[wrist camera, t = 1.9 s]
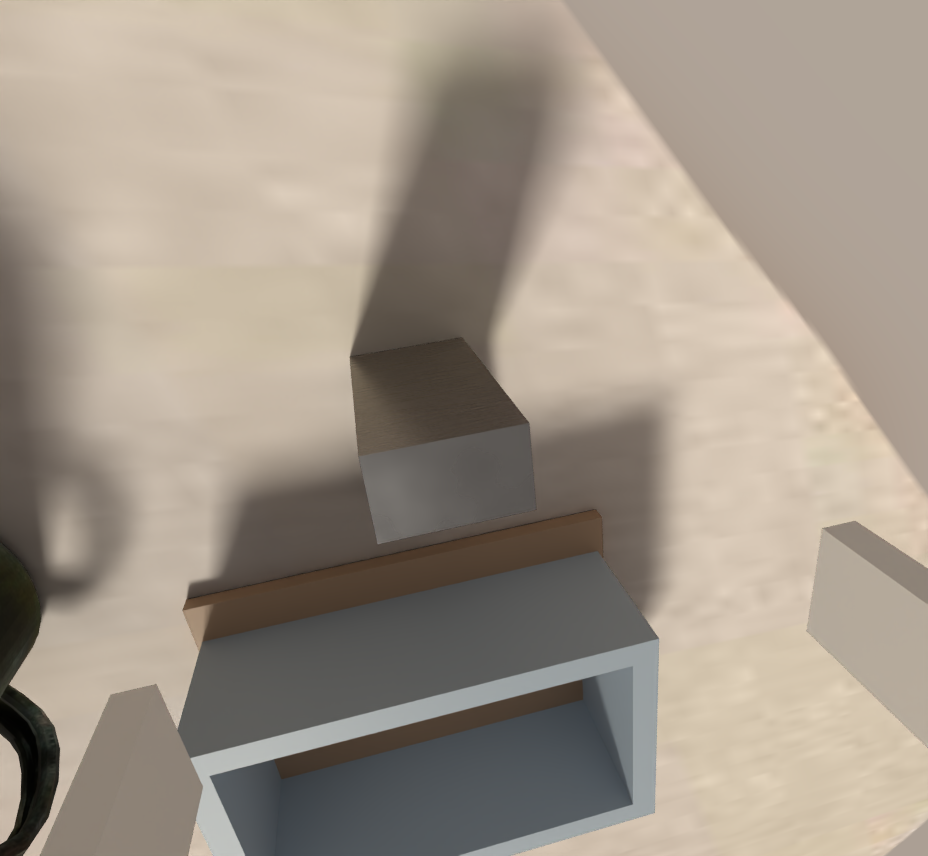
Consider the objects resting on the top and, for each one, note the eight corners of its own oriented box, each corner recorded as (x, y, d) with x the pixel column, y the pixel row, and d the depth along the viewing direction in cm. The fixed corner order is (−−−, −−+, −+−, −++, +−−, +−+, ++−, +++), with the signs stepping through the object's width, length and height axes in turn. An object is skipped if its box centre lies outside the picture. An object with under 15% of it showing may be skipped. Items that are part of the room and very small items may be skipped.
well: (186, 599, 29) (141, 729, 22) (596, 509, 31) (666, 599, 25) (270, 809, 35) (255, 957, 29) (602, 719, 38) (659, 835, 31)
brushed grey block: (349, 356, 26) (358, 456, 17) (461, 337, 26) (529, 422, 17) (376, 486, 28) (396, 632, 19) (478, 465, 29) (543, 597, 20)
